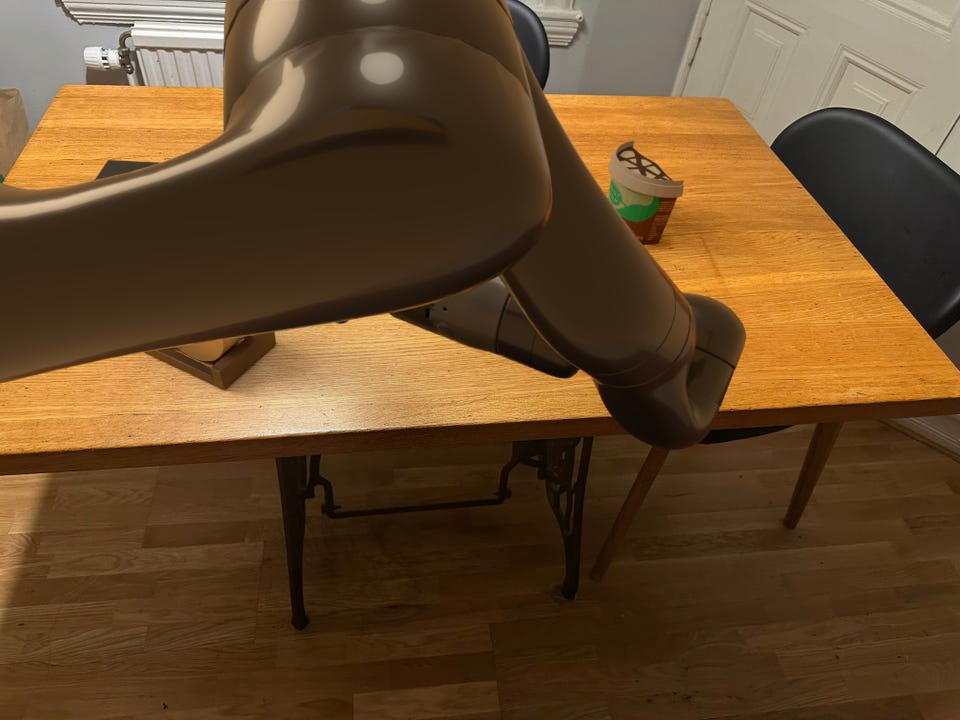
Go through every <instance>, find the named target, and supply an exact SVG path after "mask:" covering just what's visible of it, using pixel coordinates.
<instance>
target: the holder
mask: <svg viewBox="0 0 960 720" xmlns="http://www.w3.org/2000/svg"><path fill="white" fill-rule="evenodd" d="M276 345H277V339H276V332H271V333H264V334H258V335H251V336H245V337H244V339H243V340H242V341H240V342H238V343H237V345H236V346H235V347H233V348H231V350H230V351H228V353H225V355H224V356H223V357H221V358H219V360H218V361H217V362H216V363H214V364H213V365H212V366H209V365H207V364H205V363H202V362H201V361H199V360H197V359H195V358H192V357H190V356H188V355H186V354H184V353H181V352H178V351H177V350H174V349H172V348H166V349H160V350H154V351H148V352H144V353H145V354H146V355H148V356H151V357H153V358H156V359H158V360H160V361H161V362H164V363H166V364H168V365H171V366H172V367H175V368H176V369H179V370H181V371H183V372H185V373H187V374H189V375H192V376H193V377H196V378H197V379H200V380H202V381H204V382H206V383H208V384H210V385H213V386H215V387H217V388H219V389H221V390H223V391H225V390H226V389H227V388H228V387H230V386H231V385H232V384H233V383H234V382H235V381H236V380H238V378H240V377H241V376H242V375H243V374H244V373H245V372H246V371H248V370H249V369H250V368H251V367H252V366H253V365H254V364H255V363H256V362H258V361H259V360H260V359H261V358H263V356H265V354H267V353H268V352H269V351H270V350H272V348H273V347H274V346H276Z"/></svg>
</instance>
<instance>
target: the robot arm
mask: <svg viewBox="0 0 960 720" xmlns="http://www.w3.org/2000/svg"><path fill="white" fill-rule="evenodd" d="M224 5H225V6H224V16H223V48H222V49H223V52H222V53H223V56H222V57H223V58H222V59H223V60H222V115H223V116H222V122H223V123H222V125H223V126H222V127H223V130H222V132H223V133H221V134H220V135H219V136H218V137H216V138H214V139H213V140H211V141H209V142H207V143H205V144H203V145H201V146H199V147H197V148H195V149H193V150H190V151H187V152H186V153H183V154H180V155H178V156H175V157H172V158H170V159H167V160H164V161H161V162H160V163H158V164H155V165H152V166H149V167H145V168H142V169H139V170H135V171H132V172H129V173H125V174H120V175H116V176H111V177H107V178H102V179H98V180H95V179H94V180H90V181H85V182H80V183H76V184H72V185H68V186H63V187H54V188H46V189H45V188H44V189H29V188H28V189H27V188H22V187H16V186H13V185H9V184H6V183H2V182H0V384H5V383H10V382H13V381H18V380H21V379H26V378H30V377H34V376H39V375H43V374H47V373H52V372H56V371H61V370H64V369H68V368H73V367H78V366H82V365H87V364H91V363H96V362H100V361H105V360H110V359H114V358H119V357H124V356H125V357H126V356H130V355H137V354H141V353H145V352H148V351H154V350H160V349H166V348H170V349H172V348H176V347H179V346H186V345H192V344H199V343H205V342H212V341H218V340H225V339H232V338H238V337H243V338H245V336H251V335H258V334H264V333H271V332H275V333H276V332H277V333H278V332H282V331H291V330H297V329H303V328H308V327H309V328H310V327H315V326H322V325H329V324H330V325H331V324H335V323H336V324H338V325H343V324H347V322H349V321H353V320H359V319H364V318H370V317H376V316H381V315H382V316H383V315H390V316H391V317H392V318H395V319H397V320H400V321H402V322H405V323H407V324H410V325H412V326H415V327H416V328H417V327H418V328H419V329H422V330H425V331H427V332H430V333H431V334H435V335H437V336H439V337H443V338H445V339H448V340H449V341H452V342H455V343H457V344H459V345H462V346H465V347H467V348H471V349H475V350H478V351H483V352H487V353H491V354H493V355H496V356H499V357H502V358H504V359H508V360H509V361H512V362H515V363H517V364H519V365H521V366H525V367H527V368H530V369H532V370H534V371H537V372H539V373H541V374H545V375H547V376H549V377H553V378H555V379H556V378H557V379H565V380H566V379H570V378H572V377H574V376H575V375H577V374H578V373H579V372H580V371H581V372H582V373H584V374H585V375H586V376H589V377H590V378H591V380H592V383H593V385H594V387H595V389H596V391H597V393H598V396H599V398H600V400H601V402H602V403H603V406H604V407H605V409H606V410H607V412H608V414H609V415H610V416H611V418H612V419H613V420H614V421H615V422H616V424H618V425H619V426H620V428H622V429H623V430H624V431H625V432H627V434H629V435H630V436H632V437H633V438H635V439H637V440H638V441H640V442H642V443H644V444H646V445H648V446H651V447H654V448H658V449H661V450H668V451H681V450H684V449H689V448H691V447H693V446H696V445H697V444H699V443H700V442H701V441H703V440H704V439H705V438H706V437H707V436H708V434H709V433H710V431H711V430H712V427H713V426H714V424H715V422H716V419H717V417H718V414H719V412H720V408H721V407H722V405H723V401H724V400H725V397H726V394H727V391H728V389H729V386H730V384H731V382H732V379H733V376H734V373H735V371H736V370H737V367H738V364H739V361H740V359H741V356H742V354H743V351H744V349H745V346H746V341H747V331H746V329H745V326H744V323H743V322H742V320H741V318H740V317H739V316H738V315H737V314H736V313H735V311H734V310H732V308H730V307H729V306H727V305H726V304H725V303H724V302H721V301H720V300H718V299H715V298H712V297H710V296H708V295H707V296H706V295H703V294H698V293H690V292H682V291H681V289H680V288H679V287H678V285H677V284H676V283H675V281H673V279H672V278H671V277H670V276H669V274H668V273H667V272H666V271H665V270H664V268H663V267H662V266H661V265H660V264H659V262H658V261H657V260H656V259H655V258H654V257H653V255H652V254H651V253H650V252H649V250H648V249H647V248H646V247H645V246H644V244H642V243H641V242H640V241H639V240H638V238H637V237H636V236H635V234H634V233H633V232H632V230H631V229H630V228H629V226H628V225H627V224H626V222H625V221H624V220H623V218H622V217H621V215H620V214H619V213H618V211H617V210H616V209H615V207H614V206H613V204H612V203H611V202H610V200H609V199H608V196H607V194H606V193H605V192H604V190H603V188H602V187H601V186H600V184H599V183H598V181H597V180H596V178H595V177H594V175H593V174H592V172H591V171H590V169H589V168H588V166H587V165H586V163H585V162H584V160H583V159H582V157H581V156H580V154H579V153H578V151H577V149H576V147H575V146H574V144H573V143H572V140H571V139H570V137H569V136H568V134H567V132H566V130H565V129H564V127H563V125H562V123H561V122H560V120H559V118H558V117H557V115H556V113H555V112H554V109H553V108H552V106H551V104H550V102H549V101H548V98H547V96H546V95H545V93H544V91H543V89H542V88H541V85H540V83H539V80H538V79H537V77H536V74H535V73H534V71H533V68H532V66H531V64H530V61H529V60H528V58H527V55H526V53H525V51H524V49H523V45H522V44H521V42H520V40H519V37H518V35H517V32H516V28H515V24H514V20H513V17H512V15H511V11H510V8H509V5H508V2H507V0H225V4H224Z"/></svg>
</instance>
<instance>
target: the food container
mask: <svg viewBox="0 0 960 720" xmlns="http://www.w3.org/2000/svg"><path fill="white" fill-rule="evenodd" d="M634 145H635V139H632V140H627V141H625V142H623V143H621V144H620V145H618V146H617V148H616V149H615V150H614V151H613V153H612V154H611V155H612V156H611V158H610V160H609V161H608V165H607V169H608V173H609V175H610V176H611V177H610V184H609V188H608V189H609V190H608V196H607V197H608V199H609V200H610V202H611V203H612V204H613V206H614V207H615V209H616V210H617V211H618V213H619V214H620V215H621V217H622V218H623V220H624V221H625V222H626V224H627V225H628V226H629V228H630V229H631V230H632V232H633V233H634V234H635V236H636V237H637V238H638V240H639V241H640V242H641V243H642V245H655V244H659V243H660V241H661V238H662V236H663V234H664V231H665V229H666V226H667V225H668V222H669V220H670V217H671V214H672V211H673V210H674V207H675V205H676V202H677V200H678V198H682V197H683V193H684V189H685V188H684V187H685V185H684V182H685V180H684V179H681V180H674V179H672V178H671V177H670V176H669V175H668V174H667V173H666V172H665V171H664V170H663V169H662V167H660V165H659V164H658V163H656V162H655V161H653V160H652V159H650V158H648V157H646V156H644V155H643V154H641V153H640V152H639V151H638V150H637V149H636V148H634Z"/></svg>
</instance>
